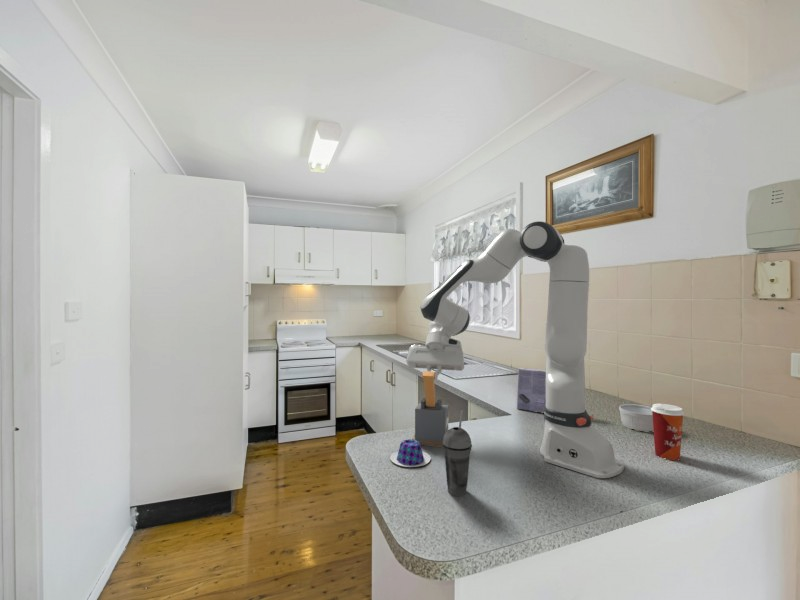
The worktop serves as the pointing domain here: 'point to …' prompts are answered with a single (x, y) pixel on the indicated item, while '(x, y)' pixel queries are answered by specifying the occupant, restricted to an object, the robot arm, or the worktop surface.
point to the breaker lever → (429, 388)
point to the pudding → (410, 454)
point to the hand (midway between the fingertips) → (432, 378)
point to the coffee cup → (667, 430)
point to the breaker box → (431, 423)
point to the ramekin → (637, 417)
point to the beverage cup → (457, 459)
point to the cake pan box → (531, 389)
